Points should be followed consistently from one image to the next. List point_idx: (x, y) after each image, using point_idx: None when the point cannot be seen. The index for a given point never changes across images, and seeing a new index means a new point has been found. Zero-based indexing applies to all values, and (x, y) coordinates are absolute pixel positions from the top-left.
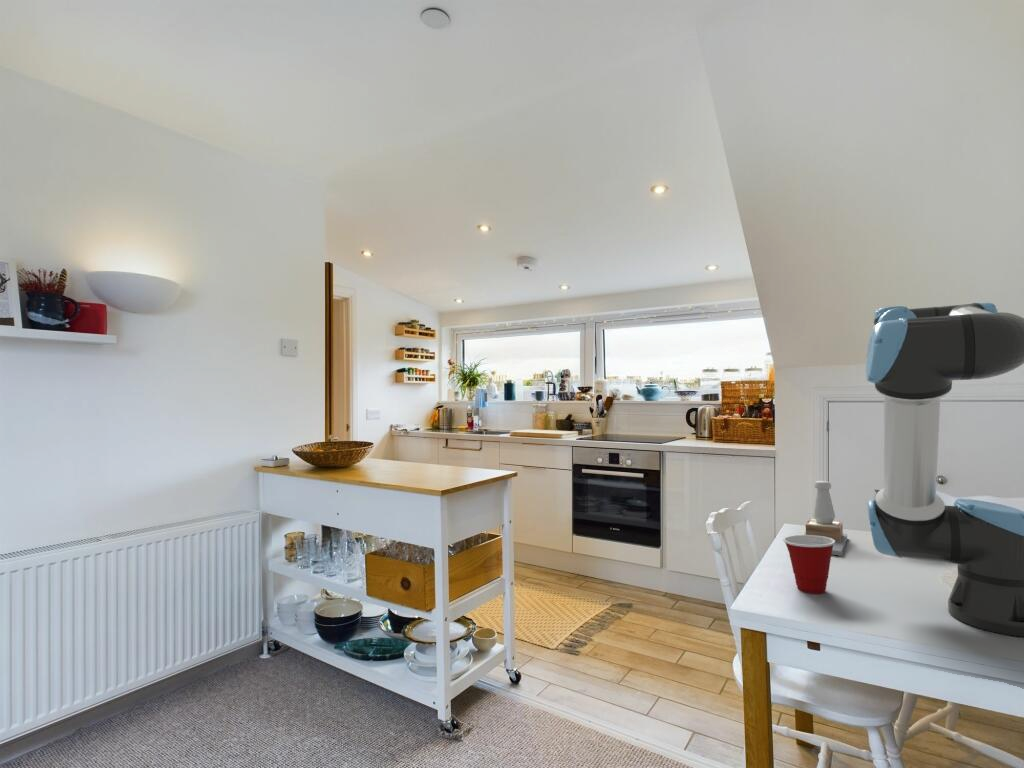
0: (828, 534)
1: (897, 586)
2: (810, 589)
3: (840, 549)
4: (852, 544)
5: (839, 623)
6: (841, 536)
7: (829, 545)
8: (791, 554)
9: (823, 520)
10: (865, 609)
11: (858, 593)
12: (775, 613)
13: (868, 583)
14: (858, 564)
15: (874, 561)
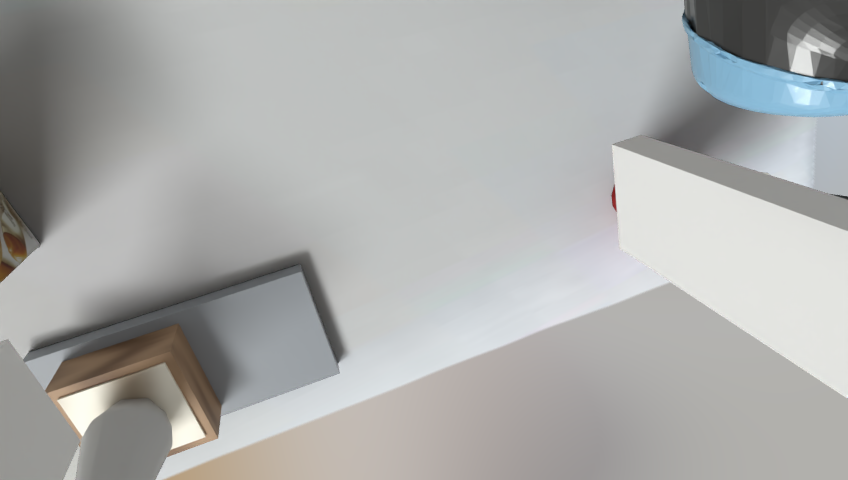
0: (191, 365)
1: (480, 54)
2: None
3: (280, 282)
4: (100, 307)
5: None
6: (119, 346)
7: (764, 173)
8: None
9: (166, 417)
10: None
11: (599, 108)
12: (796, 175)
13: (506, 117)
14: (344, 200)
15: (268, 181)
